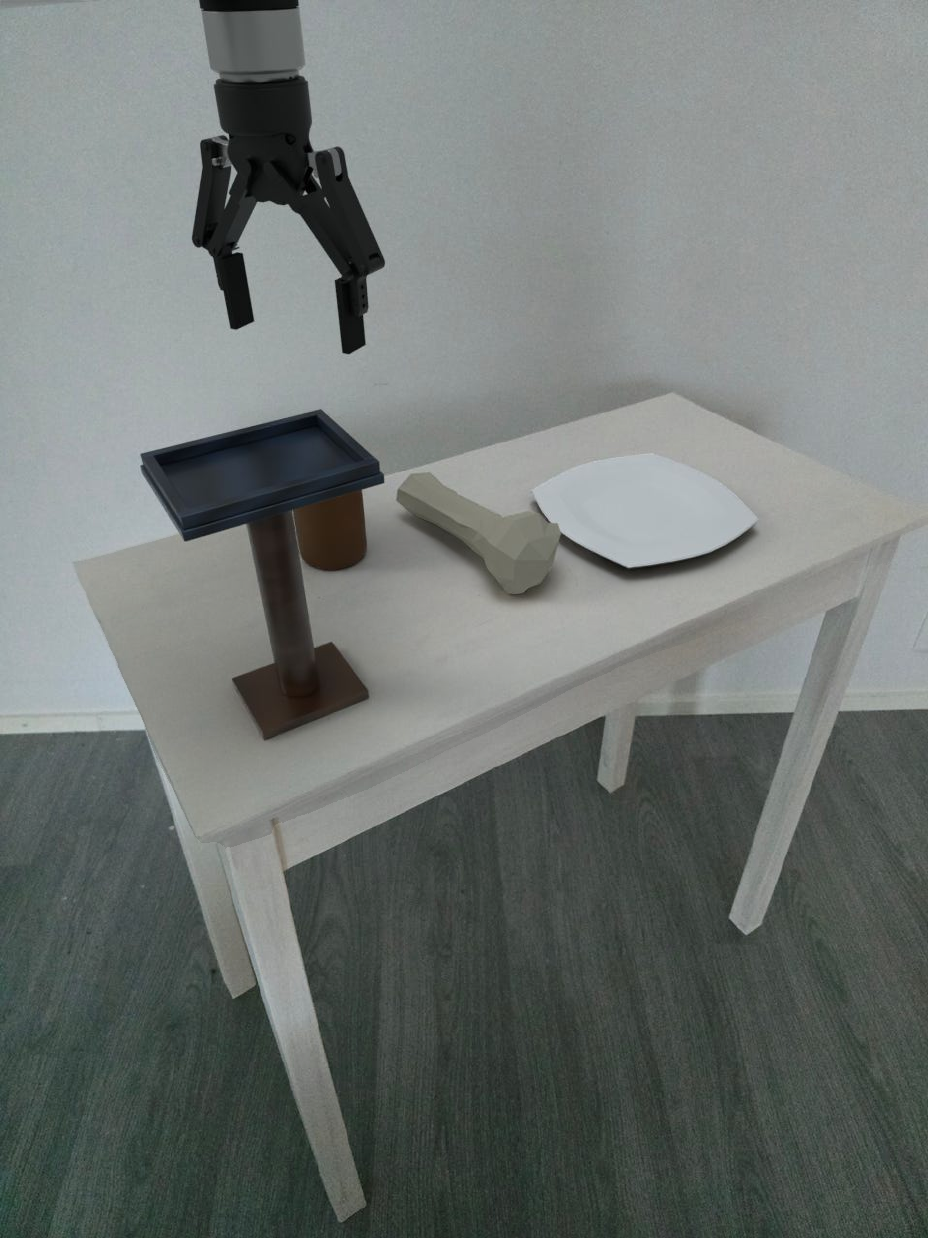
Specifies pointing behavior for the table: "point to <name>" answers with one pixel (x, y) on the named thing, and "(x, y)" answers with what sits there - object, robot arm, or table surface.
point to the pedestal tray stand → (271, 544)
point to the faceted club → (486, 531)
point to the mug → (332, 531)
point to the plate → (643, 510)
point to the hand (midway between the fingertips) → (296, 336)
